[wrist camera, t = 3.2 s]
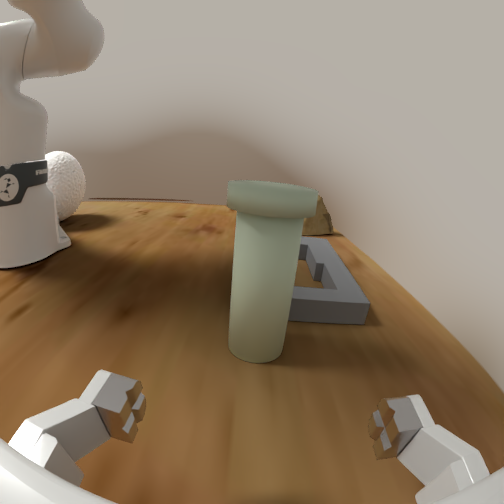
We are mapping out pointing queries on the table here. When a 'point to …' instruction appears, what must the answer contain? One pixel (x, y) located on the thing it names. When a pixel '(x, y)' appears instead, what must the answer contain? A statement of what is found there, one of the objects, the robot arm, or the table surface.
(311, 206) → the sage post
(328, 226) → the rock
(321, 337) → the table surface
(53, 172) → the white lumpy blob
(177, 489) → the table surface
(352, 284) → the keyhole board
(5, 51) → the robot arm
